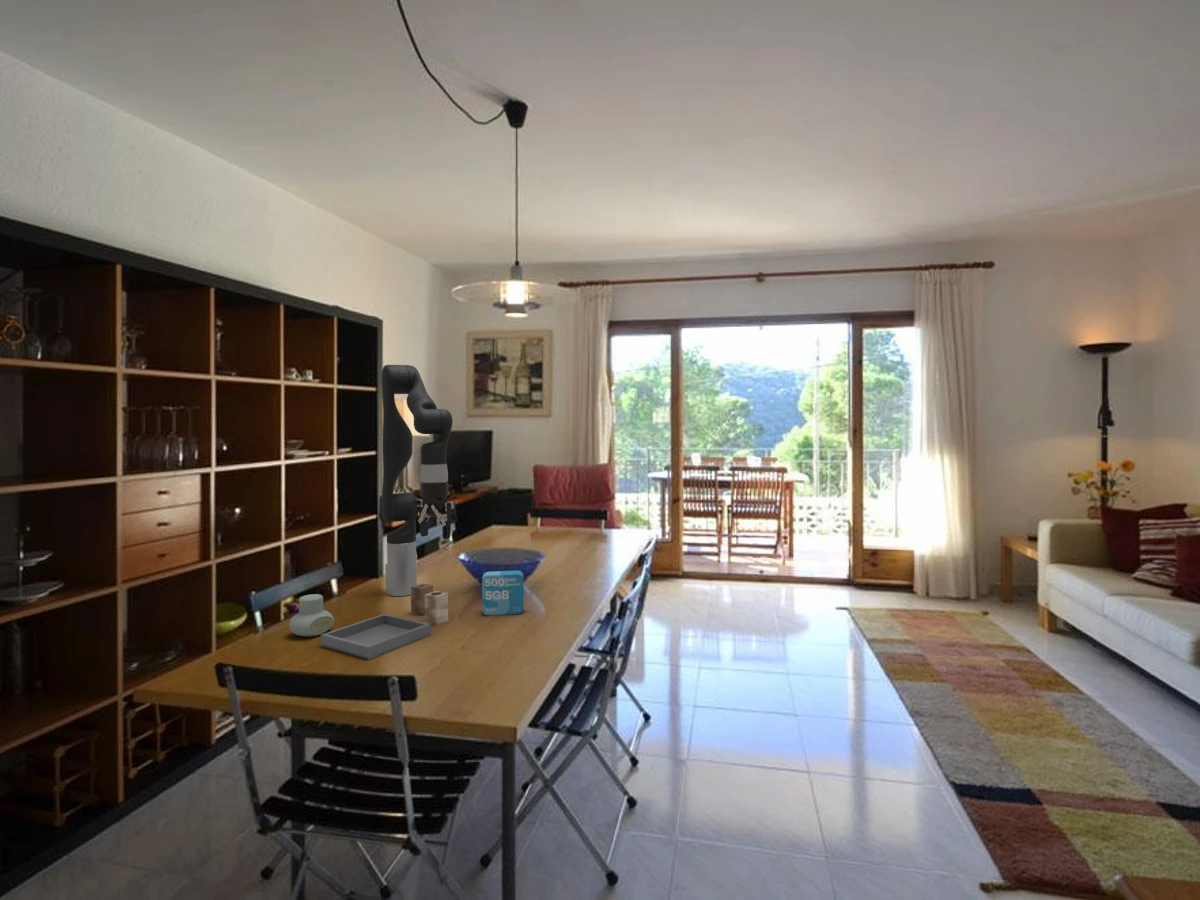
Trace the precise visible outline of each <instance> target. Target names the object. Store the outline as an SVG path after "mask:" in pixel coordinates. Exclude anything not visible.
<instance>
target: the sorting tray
mask: <svg viewBox="0 0 1200 900" xmlns="http://www.w3.org/2000/svg"><path fill="white" fill-rule="evenodd" d="M431 625H432V624H429V623H425V621H424V622H423V621H419V620H414V619H410V618H405V617H401V616H397V615H393V614H388V613H383V614H379V615H377V616H374V617H370V618H368V619H364V620H362V621H358V622H355V623H353V624H350V625H347V626H343V627H340V628H337V629H334V630H331V631H327V632H324V633H323V634H321V635H320V647H321V648H325V649H328V650H329V649H330V650H332V651H336V652H339V653H343V654H347V655H351V656H353V657H357V658H360V659H364V660H368V661H369V660H372V659H374V658H377V657H379V656H382V655H385V654H386V653H389V652H392V651H395V650H397V649H399V648H402V647H405V646H407V645H409V644H412V643H415V642H418V641H419V640H422V639H426V638H427V637H430V636H431V635H432V626H431Z"/></svg>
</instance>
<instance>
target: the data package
mask: <svg viewBox="0 0 1200 900" xmlns="http://www.w3.org/2000/svg"><path fill="white" fill-rule="evenodd" d="M481 593H482V595H481V596H482V597H481V600H482V607H481V608H482V613H483V614H484V615H485V616H488V617H489V616H502V615H503V616H504V615H505V616H506V615H508V616H509V615H520V614H522V613H523V612H524V608H525V605H524V603H525V602H524V601H525V599H524V598H525V597H524V596H525V594H524V573H523V572H522V571H520V570H499V571H498V570H497V571H495V570H494V571H486V572H484V573H483V575H482V577H481Z"/></svg>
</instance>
